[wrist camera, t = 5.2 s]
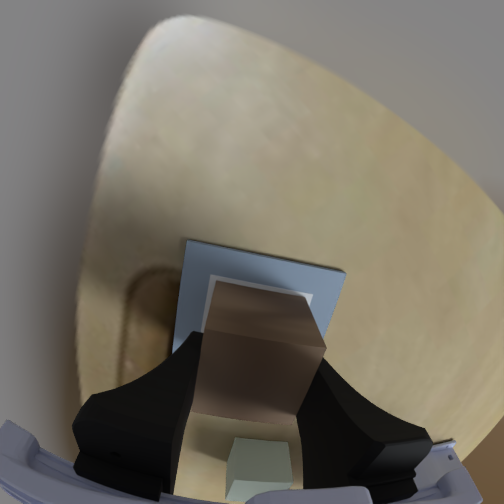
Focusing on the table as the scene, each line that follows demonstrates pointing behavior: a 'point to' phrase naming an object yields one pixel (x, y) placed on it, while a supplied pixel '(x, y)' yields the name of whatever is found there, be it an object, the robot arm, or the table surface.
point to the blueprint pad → (249, 283)
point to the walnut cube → (256, 355)
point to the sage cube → (257, 468)
